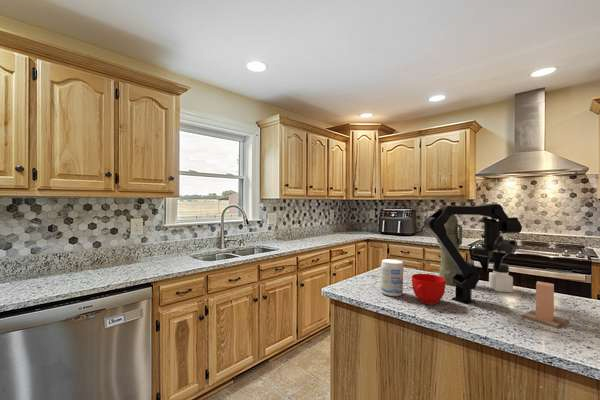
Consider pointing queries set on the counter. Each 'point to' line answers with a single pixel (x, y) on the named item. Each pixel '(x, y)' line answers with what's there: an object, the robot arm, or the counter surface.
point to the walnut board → (555, 323)
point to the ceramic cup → (428, 287)
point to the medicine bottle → (501, 279)
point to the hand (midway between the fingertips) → (491, 270)
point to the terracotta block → (545, 300)
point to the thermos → (446, 264)
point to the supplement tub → (392, 277)
